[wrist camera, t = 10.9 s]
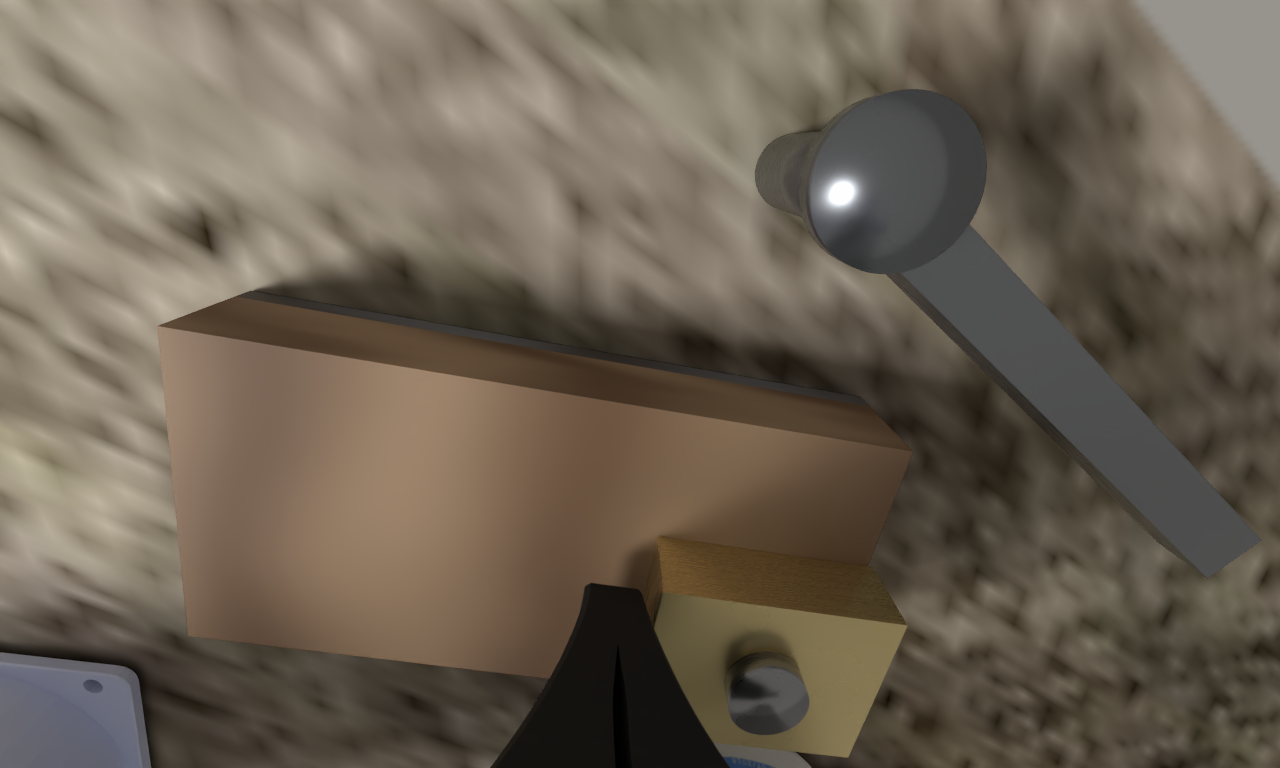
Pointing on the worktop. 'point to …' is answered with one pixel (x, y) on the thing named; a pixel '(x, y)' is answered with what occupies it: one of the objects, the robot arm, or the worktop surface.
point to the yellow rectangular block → (772, 642)
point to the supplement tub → (759, 757)
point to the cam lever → (986, 300)
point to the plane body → (477, 479)
